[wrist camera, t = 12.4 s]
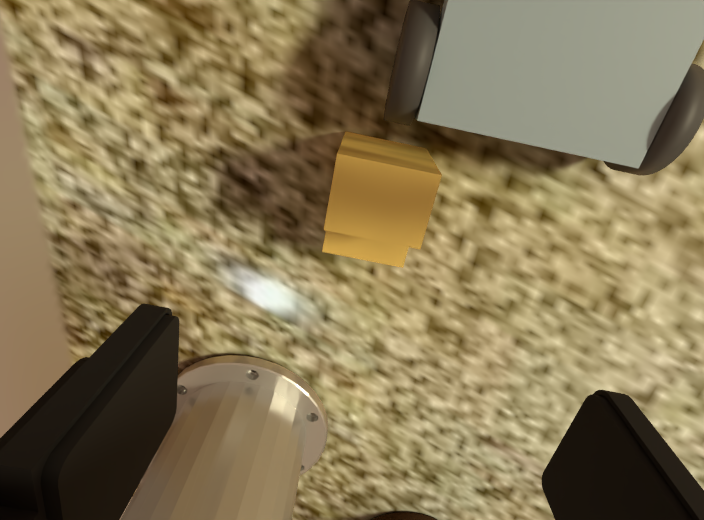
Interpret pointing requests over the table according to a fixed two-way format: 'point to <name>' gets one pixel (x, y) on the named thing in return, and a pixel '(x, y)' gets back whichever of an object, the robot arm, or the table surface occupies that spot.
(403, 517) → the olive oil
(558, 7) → the trolley
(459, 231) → the table surface
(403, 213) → the orange block
